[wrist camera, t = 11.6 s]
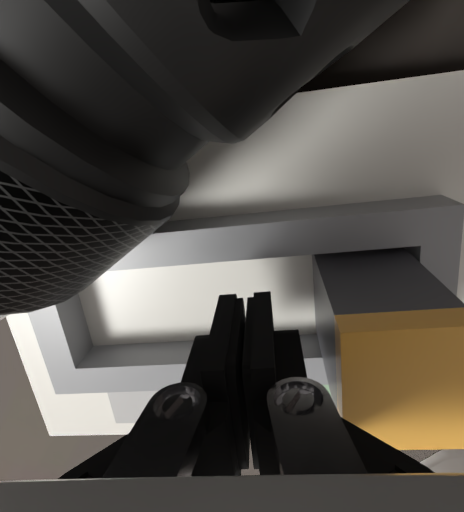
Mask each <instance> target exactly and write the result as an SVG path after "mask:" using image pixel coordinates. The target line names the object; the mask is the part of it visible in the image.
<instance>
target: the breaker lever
mask: <svg viewBox="0 0 464 512" xmlns="http://www.w3.org/2000/svg"><path fill="white" fill-rule="evenodd" d="M312 265H313V284H314V303H315V322H316V332H317V336H318V340H319V345H320V349H321V354H322V358H323V362H324V367H325V371H326V376H327V380H328V385H329V389H330V393H331V398H332V400H333V402H334V404H335V406H336V408H337V410H338V412H339V415H340V417H342V418H344V419H345V420H347V421H349V422H351V423H352V424H354V425H356V426H357V427H359V428H361V429H363V430H364V431H366V432H368V433H370V434H371V435H373V436H375V437H376V438H378V439H380V440H382V441H383V442H385V443H387V444H389V445H390V446H392V447H394V448H395V449H397V450H436V449H464V303H463V302H462V301H461V300H460V299H459V298H458V297H457V296H455V295H454V294H453V293H452V292H451V291H450V290H449V289H448V288H447V287H446V286H445V285H444V284H443V283H442V282H440V281H439V280H438V279H437V278H436V277H435V276H434V275H433V274H432V273H431V272H430V271H429V270H428V269H426V268H425V267H424V266H423V265H422V264H421V263H420V262H419V261H418V260H417V259H416V258H415V257H414V256H413V255H411V254H410V253H409V252H408V251H407V250H406V249H405V248H404V247H400V248H388V249H375V250H363V251H351V252H338V253H326V254H314V255H312Z"/></svg>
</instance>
